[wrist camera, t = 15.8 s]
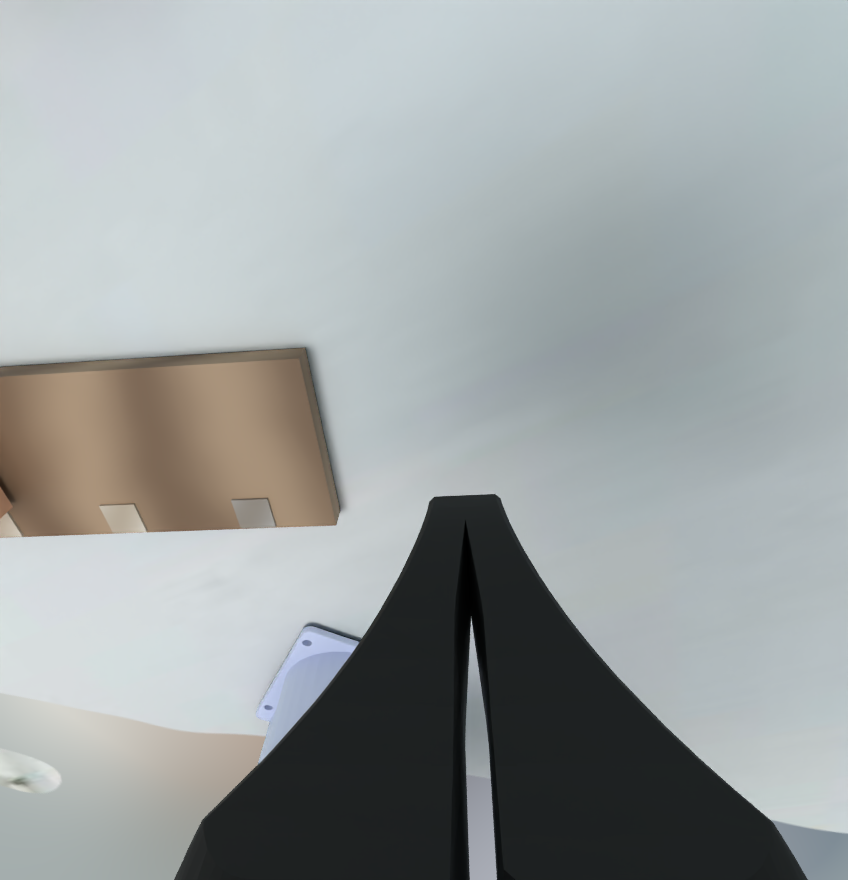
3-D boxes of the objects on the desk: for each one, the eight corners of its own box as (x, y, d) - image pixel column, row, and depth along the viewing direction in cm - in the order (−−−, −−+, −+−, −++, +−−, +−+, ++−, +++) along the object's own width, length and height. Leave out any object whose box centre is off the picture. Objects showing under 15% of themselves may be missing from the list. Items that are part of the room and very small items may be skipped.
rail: (305, 347, 20) (298, 359, 19) (339, 510, 24) (335, 526, 23) (-285, 384, 22) (-318, 397, 21) (-157, 529, 26) (-180, 545, 25)
